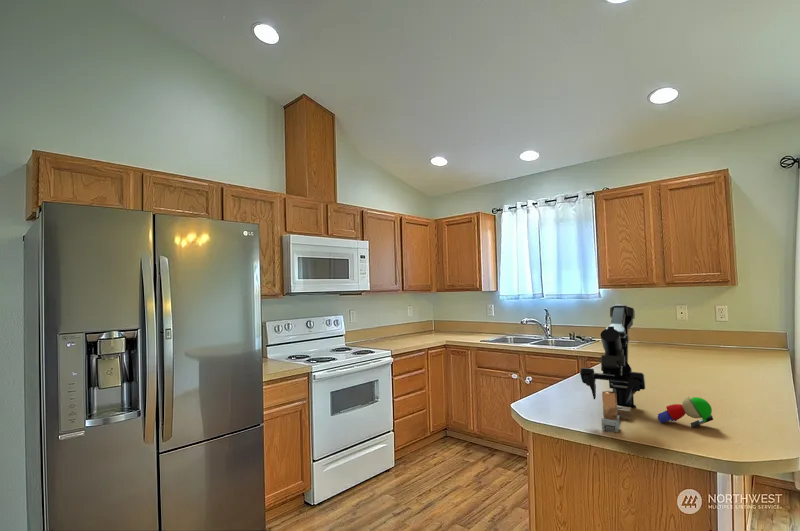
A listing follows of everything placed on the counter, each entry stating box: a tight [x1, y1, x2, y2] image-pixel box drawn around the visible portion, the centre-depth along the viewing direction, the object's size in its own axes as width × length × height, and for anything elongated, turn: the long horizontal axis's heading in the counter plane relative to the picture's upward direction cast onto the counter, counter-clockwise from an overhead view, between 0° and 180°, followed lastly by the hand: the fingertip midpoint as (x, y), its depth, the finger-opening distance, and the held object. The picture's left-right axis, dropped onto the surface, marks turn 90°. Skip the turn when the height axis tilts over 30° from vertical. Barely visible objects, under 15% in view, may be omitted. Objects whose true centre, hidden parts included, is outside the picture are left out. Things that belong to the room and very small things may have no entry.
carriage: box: [601, 390, 621, 433], centre depth 132 cm, size 5×4×11 cm
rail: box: [605, 414, 622, 433], centre depth 136 cm, size 15×2×2 cm, turn 146°
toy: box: [657, 396, 714, 429], centre depth 135 cm, size 8×8×15 cm
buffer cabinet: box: [617, 406, 633, 421], centre depth 145 cm, size 5×8×3 cm, turn 56°
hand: (609, 400), depth 133 cm, fingers open, 9 cm apart
